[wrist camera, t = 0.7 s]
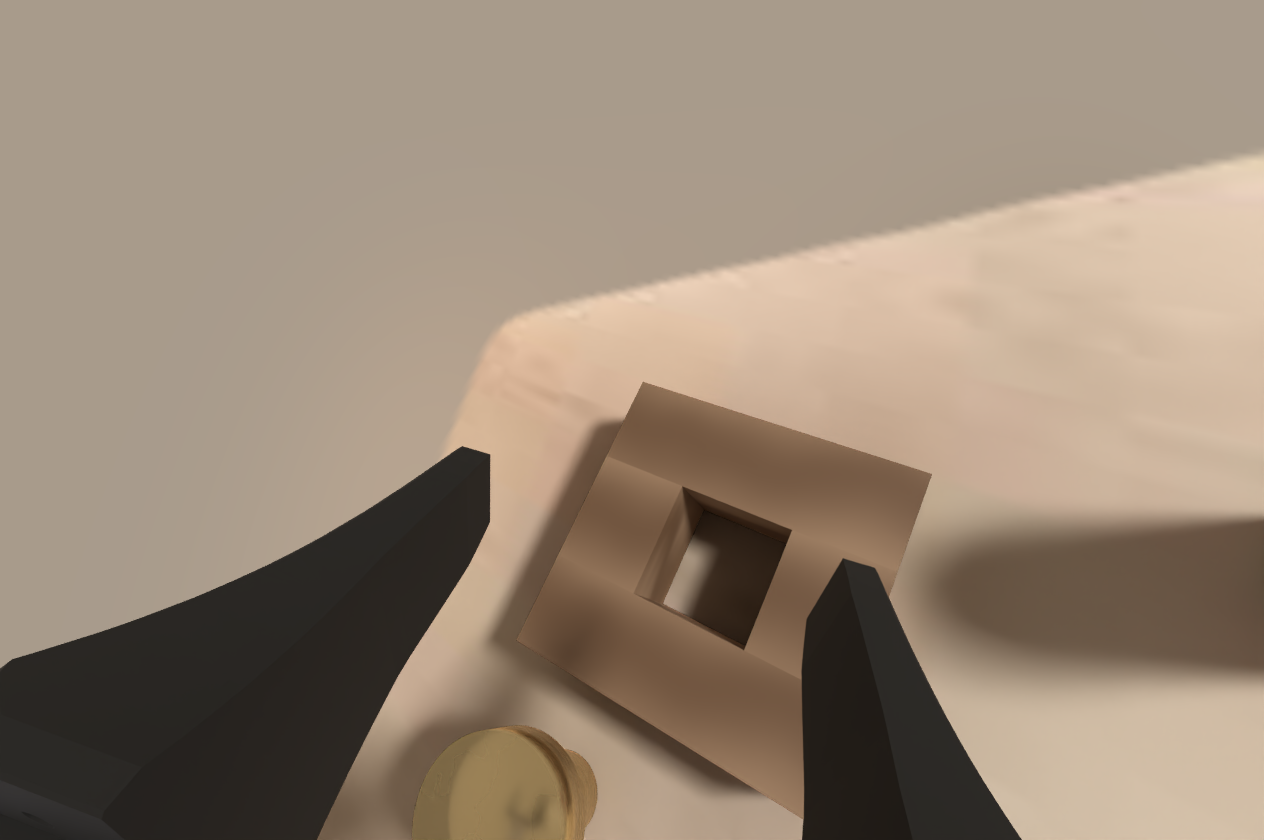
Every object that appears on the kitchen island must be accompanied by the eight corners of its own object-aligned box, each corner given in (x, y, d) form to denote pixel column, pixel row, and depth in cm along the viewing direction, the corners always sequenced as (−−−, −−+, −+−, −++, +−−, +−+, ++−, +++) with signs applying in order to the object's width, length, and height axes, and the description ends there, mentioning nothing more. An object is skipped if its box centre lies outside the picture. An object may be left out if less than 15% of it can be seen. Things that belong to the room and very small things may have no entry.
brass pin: (586, 908, 23) (506, 979, 17) (481, 820, 25) (383, 859, 20) (647, 763, 24) (589, 789, 19) (541, 693, 26) (464, 698, 21)
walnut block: (815, 798, 21) (809, 822, 18) (559, 644, 27) (516, 640, 23) (920, 502, 24) (931, 474, 21) (667, 415, 29) (643, 381, 26)
